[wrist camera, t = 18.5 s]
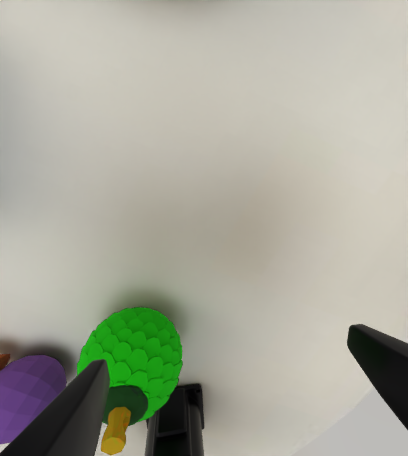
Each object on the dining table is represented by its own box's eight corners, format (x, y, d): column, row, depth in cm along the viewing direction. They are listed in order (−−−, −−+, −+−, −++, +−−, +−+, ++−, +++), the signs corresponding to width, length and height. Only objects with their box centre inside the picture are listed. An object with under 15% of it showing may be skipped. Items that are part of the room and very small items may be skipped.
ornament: (183, 353, 23) (187, 482, 13) (105, 362, 22) (48, 507, 12) (180, 286, 21) (181, 379, 11) (94, 292, 20) (17, 400, 10)
